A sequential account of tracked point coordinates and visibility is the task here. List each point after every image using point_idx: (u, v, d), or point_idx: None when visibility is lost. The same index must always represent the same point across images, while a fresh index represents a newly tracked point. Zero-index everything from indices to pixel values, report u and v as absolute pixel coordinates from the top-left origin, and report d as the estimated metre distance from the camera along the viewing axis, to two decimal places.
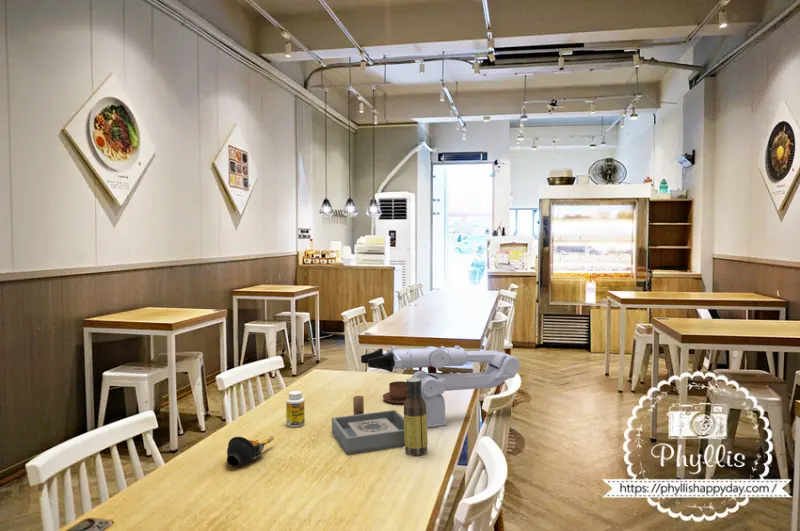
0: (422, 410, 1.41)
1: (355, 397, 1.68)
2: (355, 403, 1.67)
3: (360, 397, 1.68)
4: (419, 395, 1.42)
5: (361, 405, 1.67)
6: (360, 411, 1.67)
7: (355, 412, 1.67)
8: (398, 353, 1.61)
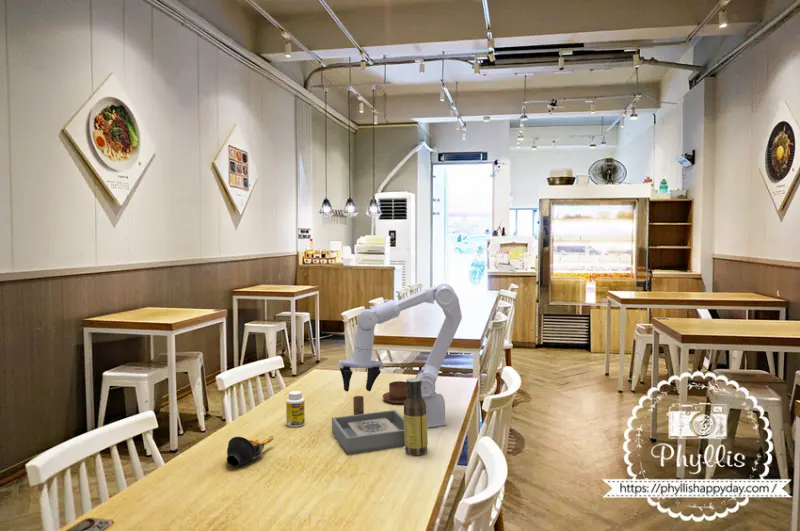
0: (422, 410, 1.41)
1: (355, 397, 1.68)
2: (355, 403, 1.67)
3: (360, 397, 1.68)
4: (419, 395, 1.42)
5: (361, 405, 1.67)
6: (360, 411, 1.67)
7: (355, 412, 1.67)
8: None
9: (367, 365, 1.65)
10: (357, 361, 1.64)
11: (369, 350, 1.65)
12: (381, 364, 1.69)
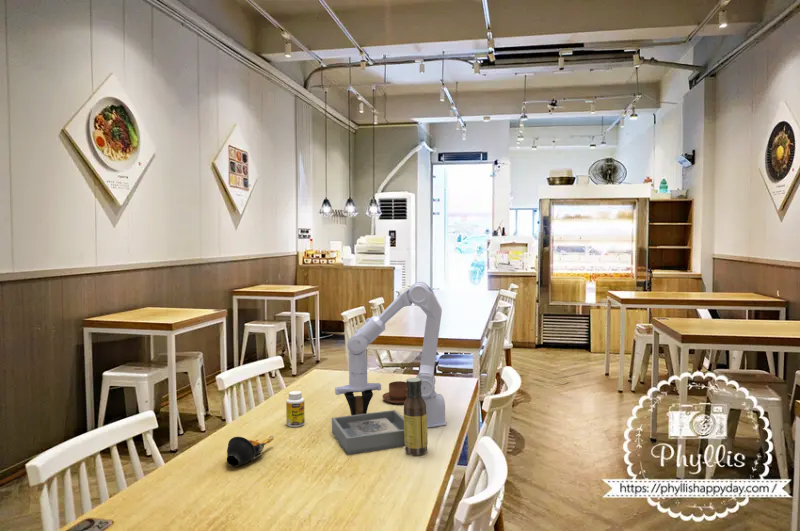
0: (422, 410, 1.41)
1: (355, 397, 1.68)
2: (355, 403, 1.67)
3: (360, 397, 1.68)
4: (419, 395, 1.42)
5: (361, 405, 1.67)
6: (360, 411, 1.67)
7: (355, 412, 1.67)
8: None
9: (363, 389, 1.66)
10: (353, 386, 1.66)
11: (363, 374, 1.66)
12: (379, 386, 1.69)
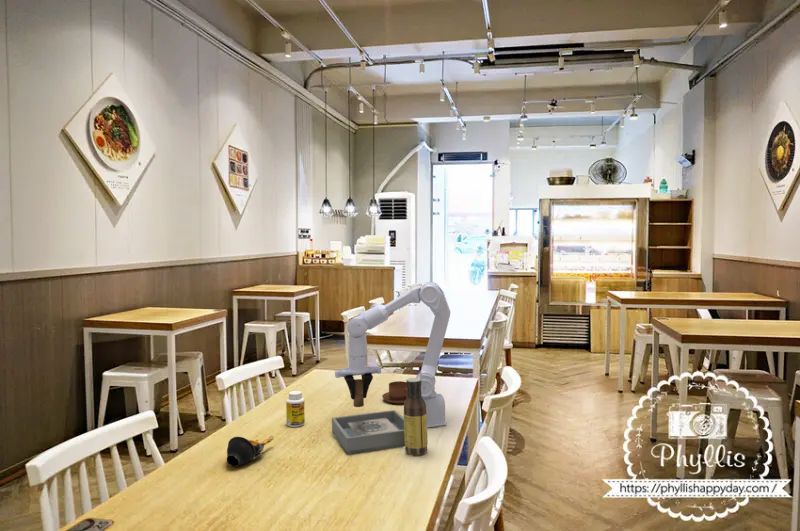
0: (422, 410, 1.41)
1: (355, 380, 1.68)
2: (355, 386, 1.67)
3: (360, 380, 1.68)
4: (419, 395, 1.42)
5: (361, 388, 1.67)
6: (360, 394, 1.67)
7: (355, 395, 1.67)
8: None
9: (363, 372, 1.65)
10: (352, 369, 1.65)
11: (363, 356, 1.65)
12: (379, 369, 1.69)
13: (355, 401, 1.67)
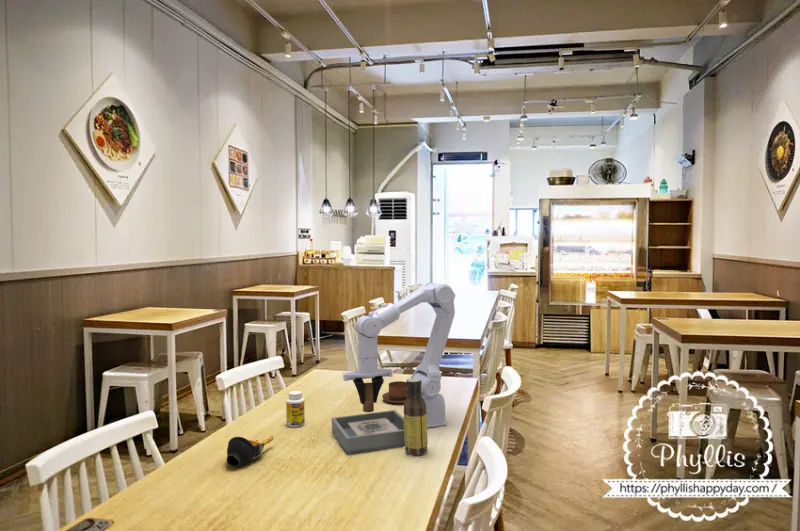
0: (422, 410, 1.41)
1: None
2: (364, 390, 1.56)
3: (370, 384, 1.57)
4: (419, 395, 1.42)
5: (371, 392, 1.56)
6: (370, 398, 1.56)
7: (365, 400, 1.56)
8: None
9: (373, 375, 1.55)
10: (362, 372, 1.55)
11: (373, 358, 1.55)
12: (390, 372, 1.59)
13: (365, 406, 1.57)
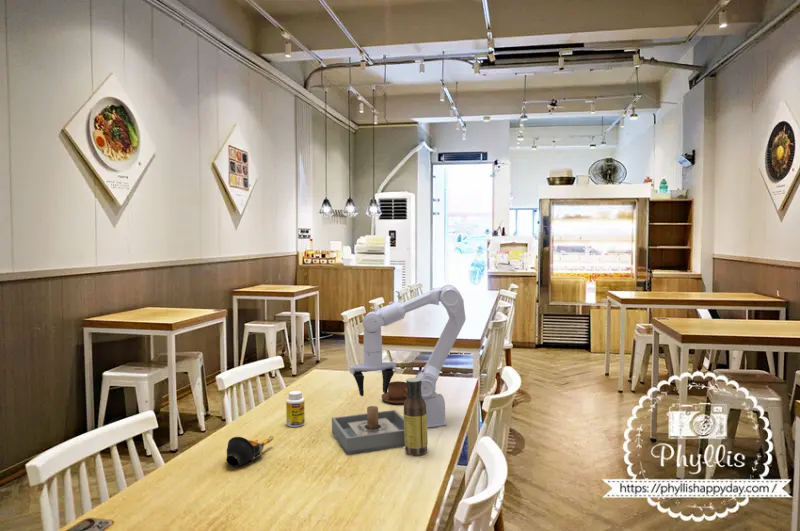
0: (422, 410, 1.41)
1: (369, 408, 1.54)
2: (369, 414, 1.53)
3: (374, 408, 1.54)
4: (419, 395, 1.42)
5: (375, 416, 1.53)
6: (374, 423, 1.53)
7: (369, 424, 1.53)
8: None
9: (378, 367, 1.64)
10: (367, 365, 1.64)
11: (378, 352, 1.64)
12: (394, 365, 1.68)
13: None
